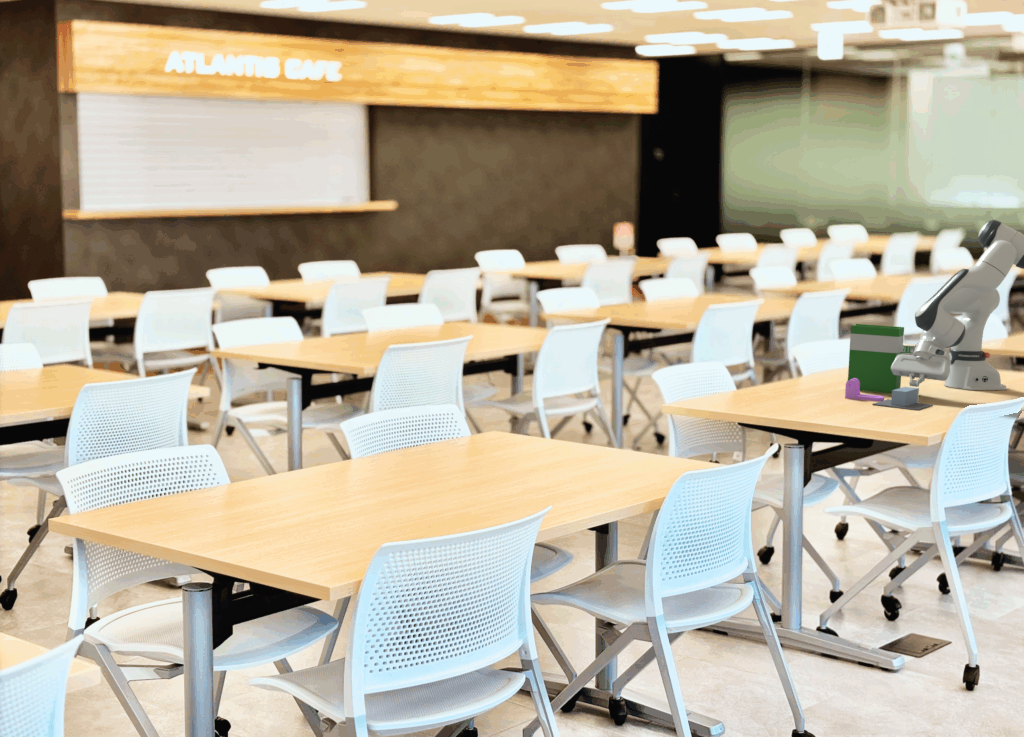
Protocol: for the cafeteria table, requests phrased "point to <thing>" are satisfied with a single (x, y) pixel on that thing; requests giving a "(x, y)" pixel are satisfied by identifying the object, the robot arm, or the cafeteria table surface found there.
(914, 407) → the mat
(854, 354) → the hardback book
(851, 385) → the bracket
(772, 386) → the cafeteria table surface
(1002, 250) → the robot arm
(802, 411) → the cafeteria table surface
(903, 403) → the slate block
